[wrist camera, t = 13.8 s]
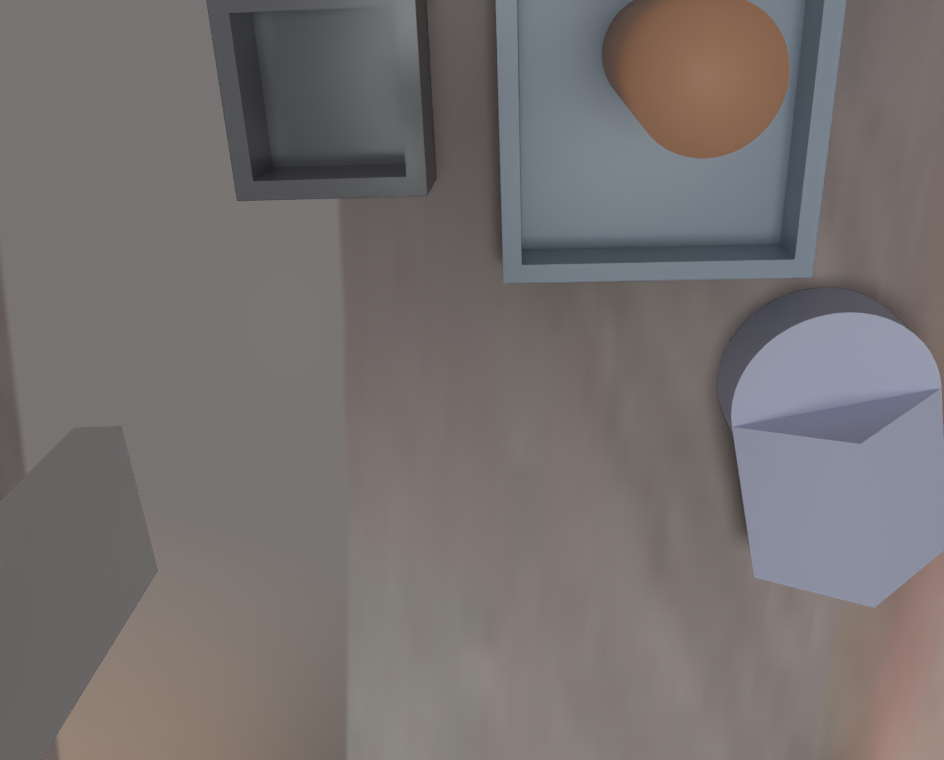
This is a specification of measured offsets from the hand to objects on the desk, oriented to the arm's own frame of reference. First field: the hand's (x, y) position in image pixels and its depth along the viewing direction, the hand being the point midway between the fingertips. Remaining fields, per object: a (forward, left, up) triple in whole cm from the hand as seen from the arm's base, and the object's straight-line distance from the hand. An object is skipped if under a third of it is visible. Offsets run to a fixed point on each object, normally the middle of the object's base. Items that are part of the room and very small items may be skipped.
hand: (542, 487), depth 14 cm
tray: (+5, +5, -27) cm, 28 cm away
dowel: (+5, +5, -27) cm, 27 cm away
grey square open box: (-9, +4, -27) cm, 29 cm away
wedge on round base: (+13, -12, -28) cm, 33 cm away
